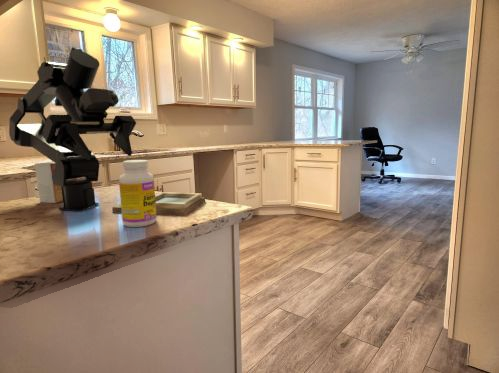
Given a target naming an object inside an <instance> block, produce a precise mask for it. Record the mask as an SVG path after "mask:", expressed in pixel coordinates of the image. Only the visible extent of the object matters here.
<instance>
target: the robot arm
mask: <svg viewBox="0 0 499 373" xmlns="http://www.w3.org/2000/svg"><path fill="white" fill-rule="evenodd" d="M100 65H101V64H100V62H99V60H98V59H97V58H96V57H94V56H92V55H91V54H89V53H87V52H85V51H84V50H83V49H82V48H78V47H74V46H73V47H71V49H70V52H69V54H68V58H67V61H66V63H58V62H53V61H52V62H51V61H43V62H42V63H41V64H40V65H39V67H38V68H37V69H38V70H37V72H36V74H37V76H38V80H37V81H36V82H35V84H33V86H32V87H31V88H30V89H29V90H28V92H26V93H25V94H24V96H22V97H19V98H18V99H17V108H16V109H15V111H14V112H13V113H12V115H11V116H10V117H9V119H8V120H9V124H8V125H9V128H8V134H9V138H10V140H11V141H12V142H13V144H14V145H17V146H20V147H24V148H33V149H35V150H36V151H37V152H39V153H40V154H42V155H43V156H44V157H46V158H47V159H49V160H50V161H51V162H55V163H56V166H55V169H54V171H53V174H52V180H53V183H54V185H57V186H61V189H62V197H63V201H62V203H63V204H62V205H63V206H59V207H58V210H59V211H75V212H76V211H78V212H80V211H81V212H82V211H85V210H87V209H90V208H93V207H96V206H98V205H100V203H99V202H96V195H95V189H94V187H93V182H99V173H100V172H99V171H100V161H99V159H98V158H97V156H96V155H95V154H94V153H93V152H92V149H89V148H88V146H87V144H86V143H85V141H84V140H83V138H82V137H81V135H90V134H91V135H94V134H109V136H110V138H111V139H113V143H114V144H115V145H116V146H117V147H118V148H119V149H120V150H121V151H122V152H123V154H125V155H127V156H128V157H131V156H132V154H133V151H132V150H133V149H132V147H131V146H132V145H131V140H130V136H131V134H132V132H133V130H134V128H135V126H136V124H137V121H136V120H135V119H134V117H133V116H132V115H114V119H113V121H111V122H105V120H104V119H106V118H107V117H108V115H109V114H108V111H107V110H109V109H110V108H113V107H115V106H116V105H118V103H119V97H118V95H117V94H116V93H115V91H114V90H113V89H106V88H105V89H104V88H94V87H92V86H93V83H94V81H95V78H96V75H97V72H98V70H99V67H100ZM85 89H86V90H85ZM53 100H54V105H55V106H56V107H63V109H64V111H65V112H66V114H48V115H47V116H45V114H44V113H45V112H44V111H45V108H46V107H47V106H48V105H49V104H50V103H52V101H53ZM26 114H38V115H39V117H40V119H41V123H37V122H36V123H34V122H33V123H32V122H31V123H20V122H21V121H22V120H23V118H25V116H26ZM75 178H77V179H75ZM68 179H71V180H68Z"/></svg>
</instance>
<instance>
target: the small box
mask: <svg viewBox="0 0 499 373" xmlns="http://www.w3.org/2000/svg"><path fill="white" fill-rule="evenodd" d="M55 166H56V163H55V162H53V161H48V162H40V163H39V162H38V163H34V170H35V177H36V182H37V183H36V185H37V190H38V197H39V202H40V203H48V204H56V203H60V202H63V197H62V189H61V186H57V185H54V183H53V180H52V174H53V171H54V169H55ZM75 179H78V178H75ZM68 180H71V179H68Z"/></svg>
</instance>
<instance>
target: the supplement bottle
mask: <svg viewBox="0 0 499 373" xmlns="http://www.w3.org/2000/svg"><path fill="white" fill-rule="evenodd" d="M148 167H149V161H148V159H129V160H127V159H126V160H124V161H122V168H123V170H124V173H122V174H120V176H119V178H118V185H119V195H120V204H121V209H122V213H121V218H122V223H123V225H124V226H126V227H128V228H129V227H130V228H141V227H142V228H143V227H147V226H150V225H152V224H155V223H156V222H157V218H158V217H157V214H156V202H155V195H156V190H155V189H156V188H155V177H154V175H153V173H151V172H148Z"/></svg>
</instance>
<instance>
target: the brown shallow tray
mask: <svg viewBox="0 0 499 373" xmlns="http://www.w3.org/2000/svg"><path fill="white" fill-rule="evenodd" d="M202 194H203V193H201V192H200V193H198V192H197V193H195V192H194V193H193V192H192V193H191V192H164V191H162V192H159V193H158V194H155V202H156V215H162V216H163V215H164V216H167V215H168V216H183V217H184V216H186V215H188V214H189V213H191V212H192V211H194V210H195V209H196V208H198V207H199V206H201V205H202V204H204V203H205V202H206V197H205V196H203V195H202ZM111 209H112V210H111V212H112V213H117V214H118V213H121V214H122V209H121V203H119V204H117V205H115V206H112V207H111Z"/></svg>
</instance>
